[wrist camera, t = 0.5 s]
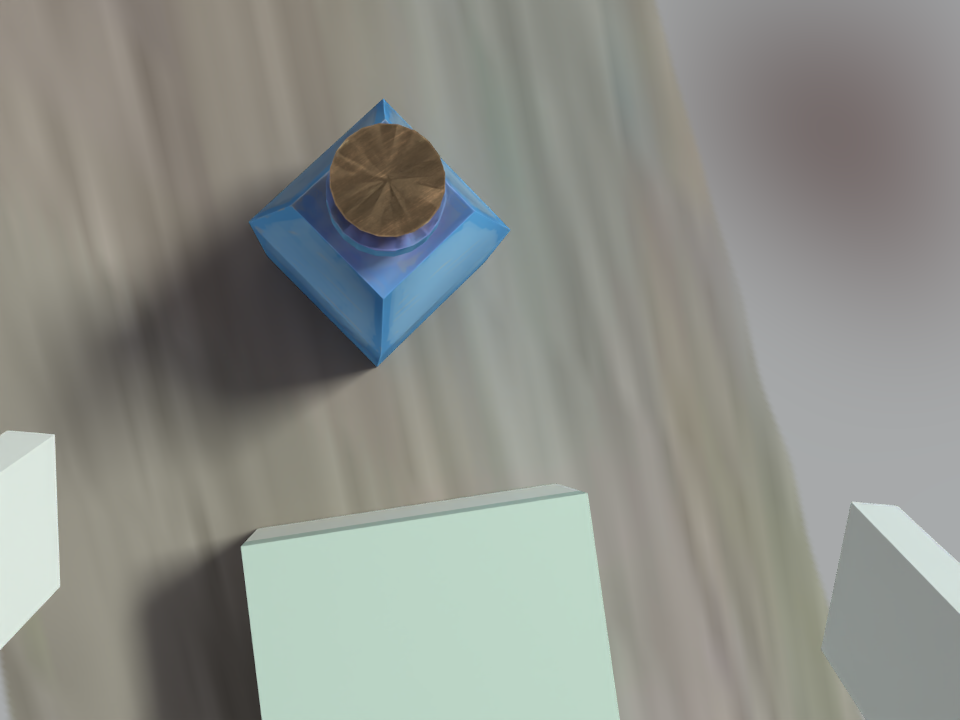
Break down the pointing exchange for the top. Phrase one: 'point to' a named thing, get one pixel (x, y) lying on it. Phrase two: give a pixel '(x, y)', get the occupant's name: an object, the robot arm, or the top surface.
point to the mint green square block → (433, 612)
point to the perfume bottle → (378, 232)
